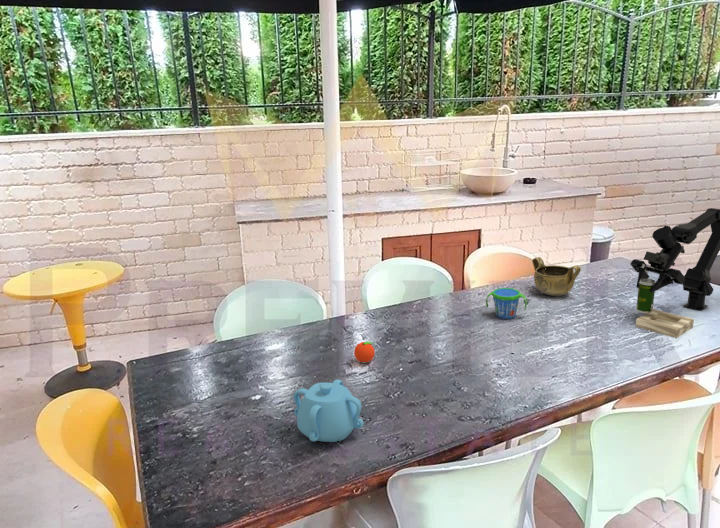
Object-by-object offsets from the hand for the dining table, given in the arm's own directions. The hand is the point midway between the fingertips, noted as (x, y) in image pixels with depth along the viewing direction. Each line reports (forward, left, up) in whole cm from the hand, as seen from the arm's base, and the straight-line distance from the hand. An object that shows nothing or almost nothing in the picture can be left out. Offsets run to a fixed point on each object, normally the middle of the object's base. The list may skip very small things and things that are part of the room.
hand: (644, 289), depth 190 cm
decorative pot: (+126, -23, -14) cm, 129 cm away
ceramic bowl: (-6, -40, -14) cm, 42 cm away
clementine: (+94, -47, -14) cm, 106 cm away
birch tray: (-3, +7, -14) cm, 16 cm away
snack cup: (+29, -39, -14) cm, 50 cm away
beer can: (-1, 0, -9) cm, 9 cm away
